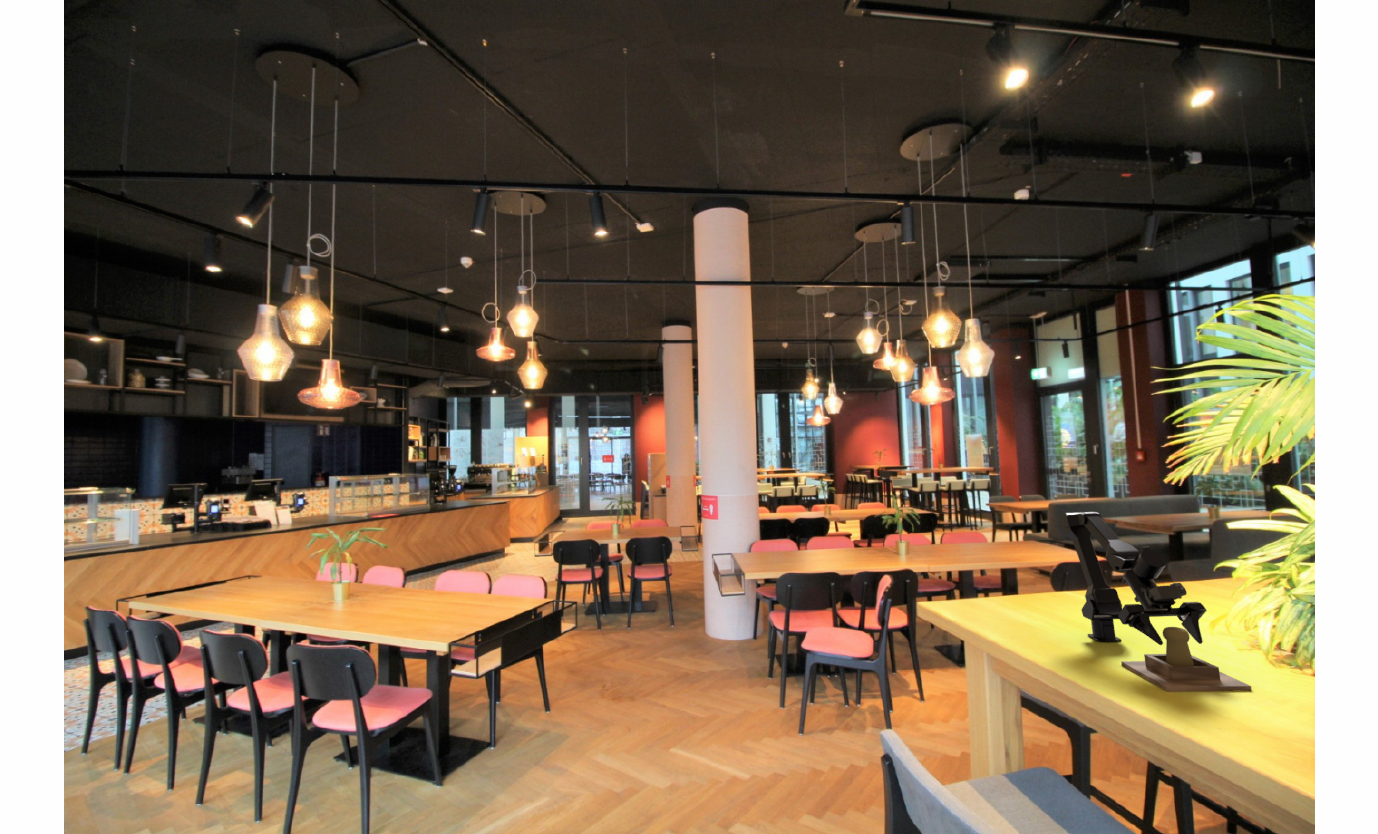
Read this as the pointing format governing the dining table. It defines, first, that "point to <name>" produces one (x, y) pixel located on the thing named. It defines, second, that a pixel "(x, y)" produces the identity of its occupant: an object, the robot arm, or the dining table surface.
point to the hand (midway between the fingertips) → (1181, 643)
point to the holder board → (1183, 675)
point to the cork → (1177, 647)
